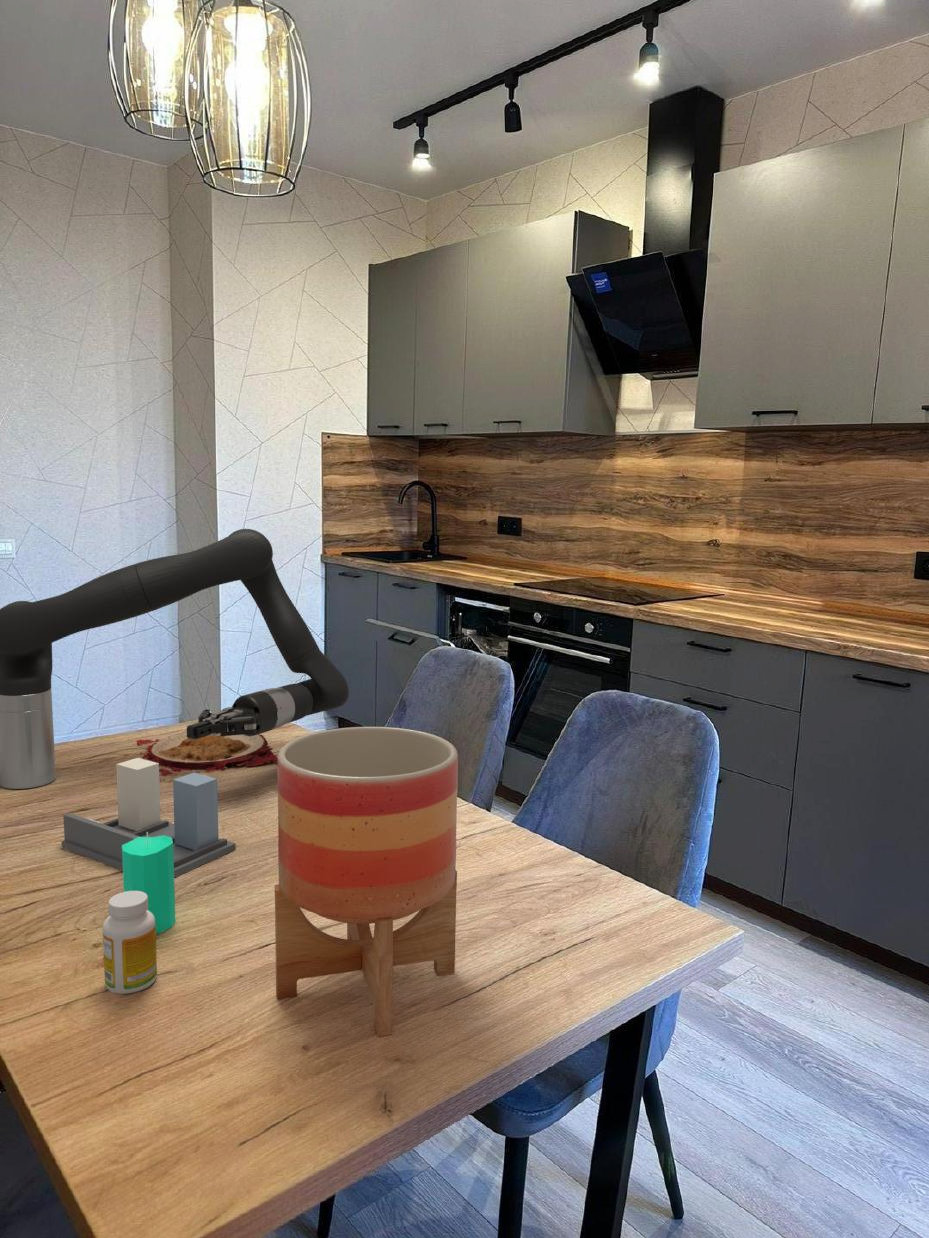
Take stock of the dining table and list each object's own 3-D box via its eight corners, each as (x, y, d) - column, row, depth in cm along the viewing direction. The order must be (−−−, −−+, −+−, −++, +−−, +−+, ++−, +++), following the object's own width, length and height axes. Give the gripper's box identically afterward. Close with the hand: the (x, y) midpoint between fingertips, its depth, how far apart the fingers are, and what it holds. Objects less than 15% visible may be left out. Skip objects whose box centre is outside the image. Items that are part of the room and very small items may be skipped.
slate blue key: (174, 843, 128) (172, 779, 127) (195, 835, 132) (194, 772, 130) (197, 851, 126) (196, 786, 124) (218, 842, 129) (217, 778, 128)
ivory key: (118, 825, 135) (116, 764, 133) (139, 817, 138) (137, 757, 137) (139, 832, 132) (137, 769, 131) (160, 823, 136) (158, 763, 134)
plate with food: (251, 734, 195) (251, 719, 194) (280, 765, 171) (279, 747, 171) (136, 747, 184) (135, 731, 183) (150, 782, 160) (149, 763, 160)
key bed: (61, 847, 129) (60, 815, 128) (139, 818, 141) (138, 789, 140) (159, 883, 118) (158, 849, 117) (235, 849, 130) (235, 818, 129)
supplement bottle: (165, 969, 97) (163, 888, 95) (143, 997, 91) (140, 911, 90) (120, 966, 97) (117, 885, 96) (95, 993, 92) (91, 908, 90)
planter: (479, 1021, 88) (485, 771, 85) (283, 1053, 83) (281, 786, 79) (431, 928, 107) (435, 720, 103) (269, 948, 102) (267, 729, 98)
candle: (185, 916, 109) (183, 826, 107) (154, 939, 103) (150, 844, 101) (146, 908, 111) (143, 820, 109) (113, 930, 105) (110, 837, 103)
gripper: (237, 686, 160) (161, 705, 145) (290, 695, 153) (216, 716, 138) (238, 725, 161) (163, 748, 146) (291, 735, 154) (218, 761, 139)
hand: (189, 733), depth 142 cm, fingers closed
